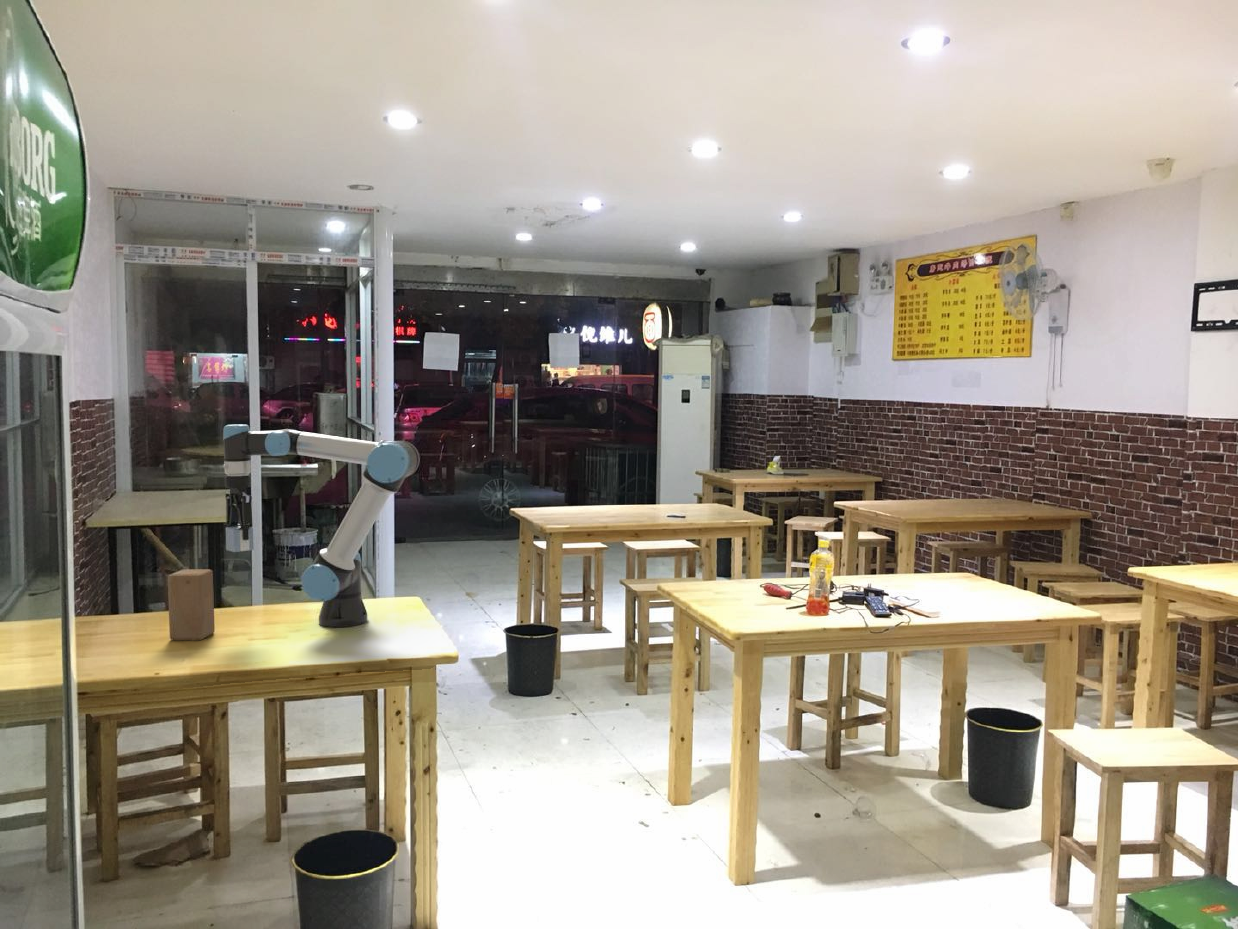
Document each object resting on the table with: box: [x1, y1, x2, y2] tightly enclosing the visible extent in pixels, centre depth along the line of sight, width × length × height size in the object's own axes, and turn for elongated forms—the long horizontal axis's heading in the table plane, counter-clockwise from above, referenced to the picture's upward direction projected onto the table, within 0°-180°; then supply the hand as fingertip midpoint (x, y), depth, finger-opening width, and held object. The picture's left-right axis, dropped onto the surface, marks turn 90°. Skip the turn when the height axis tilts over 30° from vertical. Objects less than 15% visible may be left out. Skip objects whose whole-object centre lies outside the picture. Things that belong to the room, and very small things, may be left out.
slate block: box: [225, 526, 255, 553], centre depth 301 cm, size 6×6×7 cm
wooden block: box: [167, 568, 215, 641], centre depth 295 cm, size 10×10×20 cm
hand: (240, 549), depth 301 cm, fingers closed on slate block, 6 cm apart
